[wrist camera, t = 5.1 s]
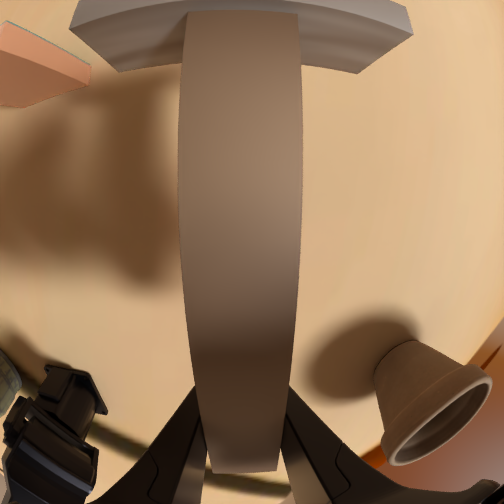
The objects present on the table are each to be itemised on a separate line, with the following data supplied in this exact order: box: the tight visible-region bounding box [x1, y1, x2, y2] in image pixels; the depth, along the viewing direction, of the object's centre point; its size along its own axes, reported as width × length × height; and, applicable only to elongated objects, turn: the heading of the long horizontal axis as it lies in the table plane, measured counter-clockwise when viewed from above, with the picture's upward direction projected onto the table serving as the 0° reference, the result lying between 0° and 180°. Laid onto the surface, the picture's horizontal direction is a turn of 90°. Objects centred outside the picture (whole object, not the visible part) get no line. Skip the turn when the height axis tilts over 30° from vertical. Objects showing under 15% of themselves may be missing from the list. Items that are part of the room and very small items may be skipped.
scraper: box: [69, 0, 414, 473], centre depth 7 cm, size 15×8×4 cm, turn 179°
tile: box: [0, 21, 91, 108], centre depth 8 cm, size 2×7×10 cm, turn 90°
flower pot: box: [374, 341, 492, 466], centre depth 19 cm, size 12×11×10 cm
